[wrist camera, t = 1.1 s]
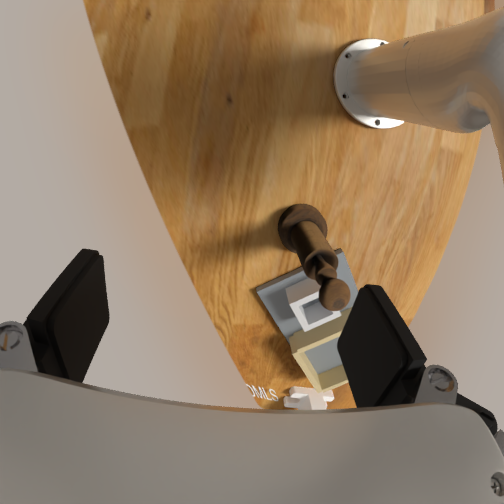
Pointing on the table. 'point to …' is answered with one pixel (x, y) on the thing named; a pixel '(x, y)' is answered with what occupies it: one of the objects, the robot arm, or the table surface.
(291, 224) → the brown pepper mill
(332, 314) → the socket board
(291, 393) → the cable organizer
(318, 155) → the table surface
